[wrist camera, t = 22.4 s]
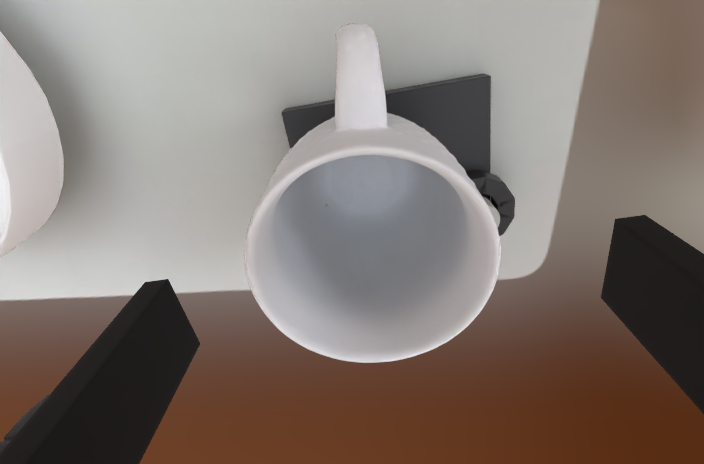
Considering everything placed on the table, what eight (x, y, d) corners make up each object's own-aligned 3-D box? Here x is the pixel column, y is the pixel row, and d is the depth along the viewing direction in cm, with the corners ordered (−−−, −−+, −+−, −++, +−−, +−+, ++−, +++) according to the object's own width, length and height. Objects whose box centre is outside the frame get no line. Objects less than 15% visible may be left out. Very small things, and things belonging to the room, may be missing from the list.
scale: (503, 70, 25) (520, 74, 23) (500, 223, 31) (513, 241, 28) (284, 108, 27) (276, 117, 24) (318, 248, 32) (315, 268, 30)
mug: (265, 34, 23) (175, 38, 12) (444, 15, 23) (534, 0, 11) (303, 242, 30) (269, 371, 19) (440, 231, 30) (492, 359, 18)
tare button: (492, 192, 27) (500, 202, 25) (492, 224, 28) (500, 236, 26) (455, 198, 27) (461, 208, 25) (457, 229, 28) (463, 241, 27)
